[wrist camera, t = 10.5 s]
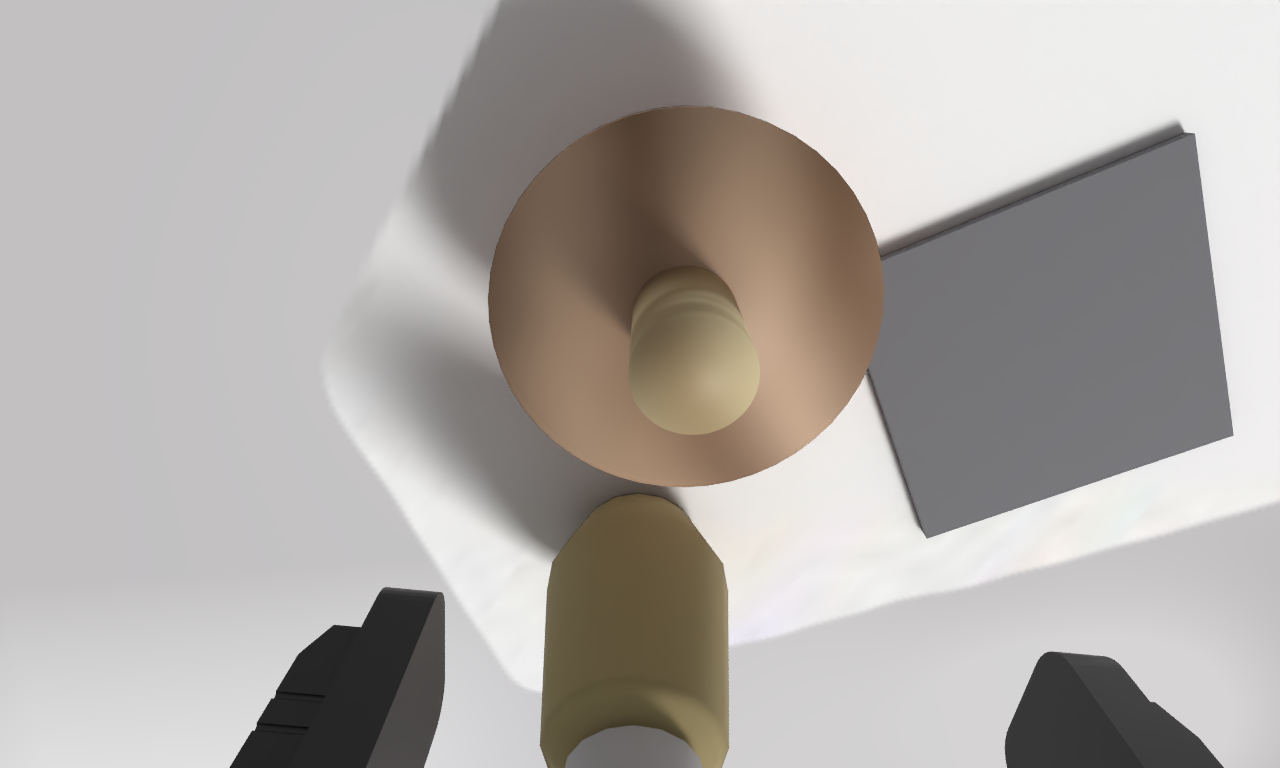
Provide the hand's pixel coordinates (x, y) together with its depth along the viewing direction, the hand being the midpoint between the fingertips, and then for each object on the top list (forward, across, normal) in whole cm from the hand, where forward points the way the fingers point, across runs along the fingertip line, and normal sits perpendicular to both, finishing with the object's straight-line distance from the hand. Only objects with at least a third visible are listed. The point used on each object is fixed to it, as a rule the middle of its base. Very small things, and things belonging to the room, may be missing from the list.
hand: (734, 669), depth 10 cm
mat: (+22, -16, +2) cm, 27 cm away
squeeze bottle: (+22, 0, +14) cm, 26 cm away
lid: (+16, 0, 0) cm, 16 cm away
